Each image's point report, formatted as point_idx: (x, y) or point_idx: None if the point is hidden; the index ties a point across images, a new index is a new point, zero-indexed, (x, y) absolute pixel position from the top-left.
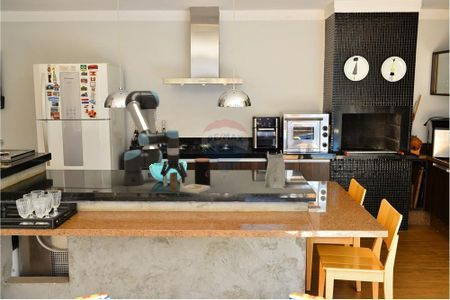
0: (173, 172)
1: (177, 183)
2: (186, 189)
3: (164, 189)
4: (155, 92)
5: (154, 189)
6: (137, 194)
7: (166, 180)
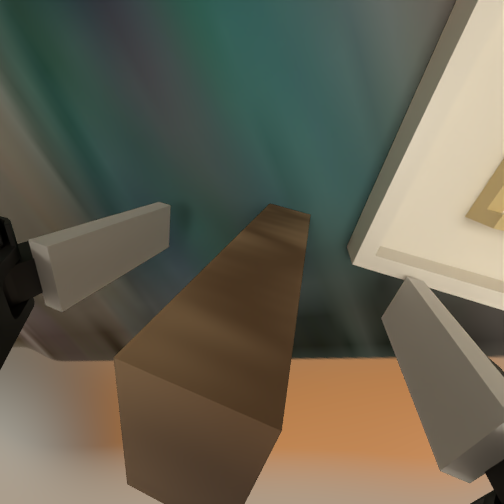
0: (135, 408)
1: (306, 244)
2: (459, 291)
3: (167, 196)
4: None
5: (103, 217)
6: None
7: (123, 237)
